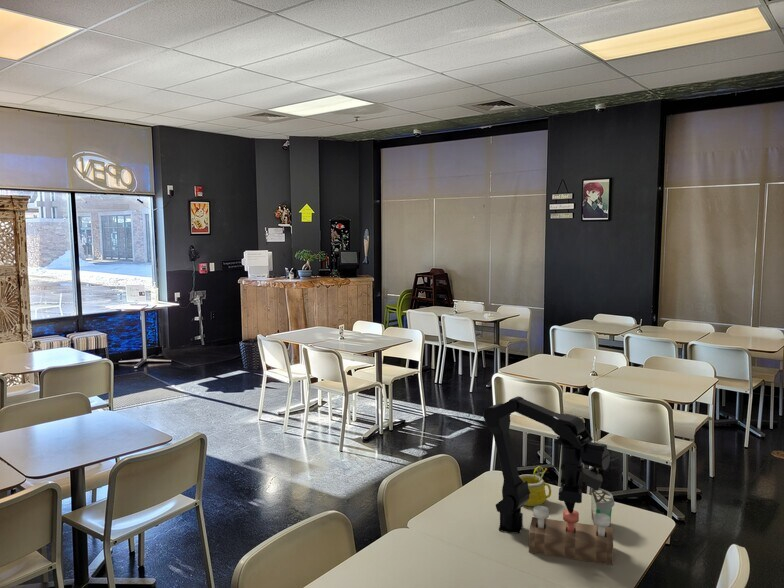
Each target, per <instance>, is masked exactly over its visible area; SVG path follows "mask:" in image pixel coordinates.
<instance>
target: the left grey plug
mask: <svg viewBox="0 0 784 588" xmlns="http://www.w3.org/2000/svg"><path fill="white" fill-rule="evenodd" d="M549 510H550V509H549V508H548V507H547V506H544V505H538V506H533V509H532V511H533V513H532V515H533V516H532V517H535V518H538V528H543V529H544V519H549V515H550V511H549Z"/></svg>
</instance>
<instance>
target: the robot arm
mask: <svg viewBox="0 0 784 588" xmlns="http://www.w3.org/2000/svg"><path fill="white" fill-rule="evenodd" d="M513 413H517V414H520V415H522V416H524V417H526V418H528V419H530V420H533V421H535V422H537V423H539V424H542V425H544V426H546V427H547V428H549V429H551V431H553V433H554V434H556V435H557V436H558V438H556V440H554V442H553V444H556V445H561V449H560V450H561V451H560V455H561V456H560V487H559V488H558V501H560V502H564V504H565V507H566V510H568V512H569V513H573V510H574V508H575V505H576V504H581V503H582V502H583V501H582V500H583V485H584V486H587V487H589V488H591V489H592V488H593V489H594V490H596V491H598V490H599V488H600V489H601V486H602V483H603V476H602V474H601V473H599V469H600V470H604V471H606V470H607V469H608V468H609V467H610V462H611V454H610V450H608V445H607V444H605V443H596V442H593V437H592V436H591V435H590V432H589V431H588V430H587V427H586V426H585V423H584V419H582V418H581V417H580V416H576V415H574V414H573V415H572V414H569V413H559V412H555V411H553V410H551V409H548V408H545V407H543V406H541V405H539V404H537V403H534V402H532V401H530V400H527V399H525V398H524V397H522V396H518V395H517V396H516V397H512V398H511V399H509V400H508V401H506V402H504V403H502V402H501V403H500V402H498V403H496V404H494V405H491V406H489V407H487V408H486V409H485V410H484V412H483V413H482V414H483V415H482V416H483V420H484V422H485V425H486V428H487V429H488V430H489V431H490V432H491V433H492V436H493V439H494V443H495V447H496V451H497V455H498V460H499V464H500V469H501V473H502V477H503V483H502V487H501V488H502V489H501V495H502V499H501V500H499V501H498V502H497V503H496V504H495V509H496V512H498V513H499V527H498V531H499V532H507V533H514V534H520V533H521V530H522V529H523V526H524V525H523V524H524V513H523V512H522V508H523V507H524V506H525V505H524V504H525V503H526V502H527V501H528V499H529V494H530V491H529V488H528V482H527V481H524V482H523V481H522V479H521V478H520V477H519V476H520V474H519V471H518V467H517V461H516V457H515V454H514V449H513V445H512V440H511V436H510V426H511V414H513ZM579 437H581V438H579ZM584 466H588V467H590V468H584Z"/></svg>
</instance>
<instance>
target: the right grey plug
mask: <svg viewBox="0 0 784 588" xmlns="http://www.w3.org/2000/svg"><path fill="white" fill-rule="evenodd" d="M594 524H595V525H596V526H598V536H601V537H605V527H609V526H610V527H611V522H610V517H609V516H608V515H606V514H601V513H597V514H595V515H594Z"/></svg>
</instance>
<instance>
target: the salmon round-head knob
mask: <svg viewBox="0 0 784 588" xmlns="http://www.w3.org/2000/svg"><path fill="white" fill-rule="evenodd" d="M562 521H565V522H568V532H572V533H574V523H579V521H580V513H579V512H578V511H577V510H574V509H573V513H569V512H568V510H567V509H564V510H563V512H562Z"/></svg>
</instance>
